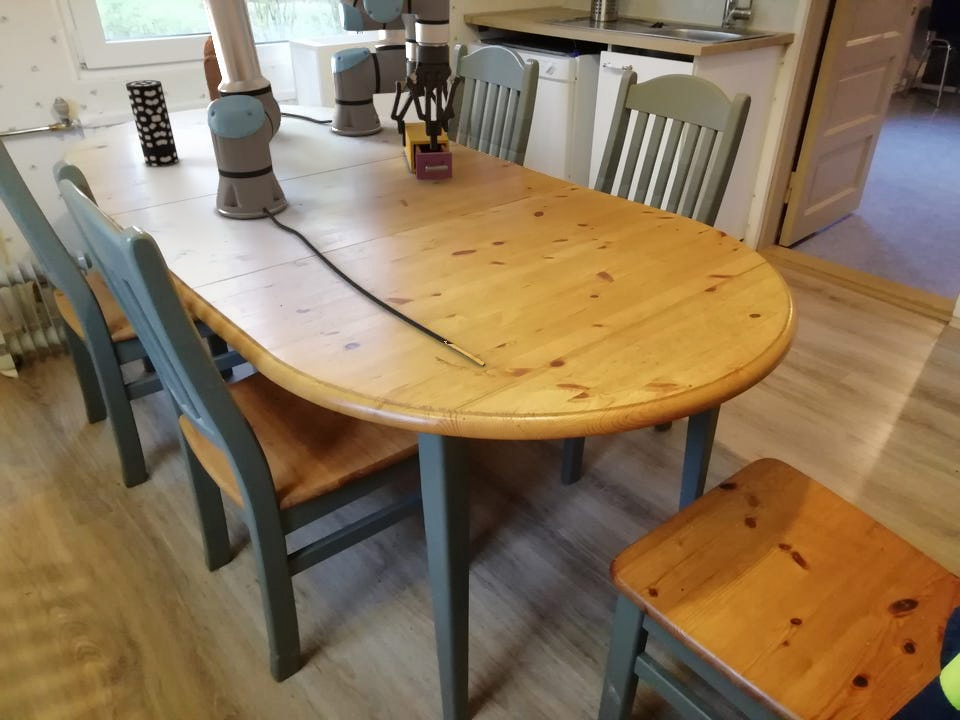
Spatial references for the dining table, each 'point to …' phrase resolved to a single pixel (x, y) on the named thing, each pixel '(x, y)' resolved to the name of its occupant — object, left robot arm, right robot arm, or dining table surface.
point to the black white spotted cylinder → (152, 122)
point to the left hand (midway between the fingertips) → (433, 149)
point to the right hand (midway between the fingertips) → (423, 144)
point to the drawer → (432, 162)
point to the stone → (212, 69)
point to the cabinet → (419, 140)
